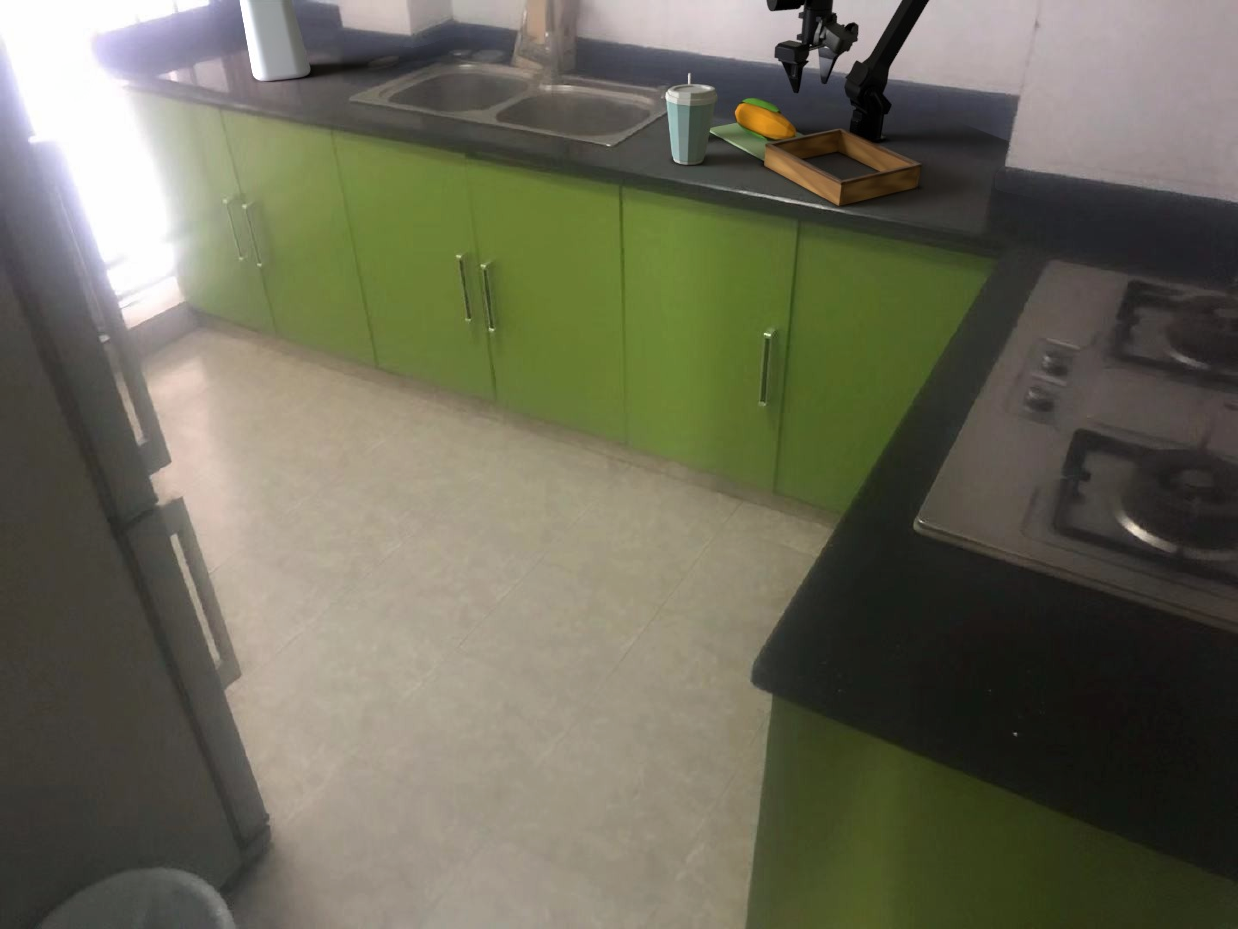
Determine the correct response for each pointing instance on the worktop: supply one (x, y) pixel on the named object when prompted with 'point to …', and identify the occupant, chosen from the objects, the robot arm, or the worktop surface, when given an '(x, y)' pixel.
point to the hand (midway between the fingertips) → (810, 88)
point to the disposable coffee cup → (690, 121)
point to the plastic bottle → (274, 40)
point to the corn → (763, 120)
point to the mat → (744, 139)
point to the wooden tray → (892, 166)
